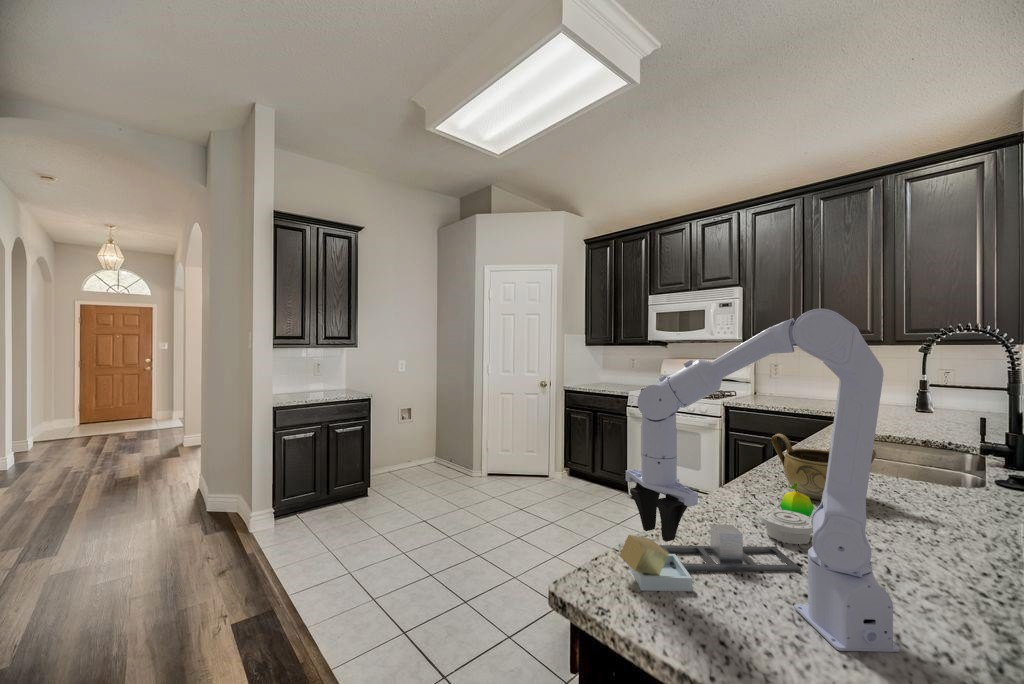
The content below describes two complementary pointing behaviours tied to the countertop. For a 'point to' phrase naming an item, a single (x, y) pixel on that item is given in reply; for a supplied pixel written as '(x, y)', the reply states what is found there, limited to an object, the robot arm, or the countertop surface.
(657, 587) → the parts tray
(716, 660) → the countertop surface
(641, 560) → the tan wooden post
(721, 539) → the grey block
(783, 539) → the mechanical component
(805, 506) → the apple
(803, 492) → the ceramic bowl
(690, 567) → the rail
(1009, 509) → the countertop surface
